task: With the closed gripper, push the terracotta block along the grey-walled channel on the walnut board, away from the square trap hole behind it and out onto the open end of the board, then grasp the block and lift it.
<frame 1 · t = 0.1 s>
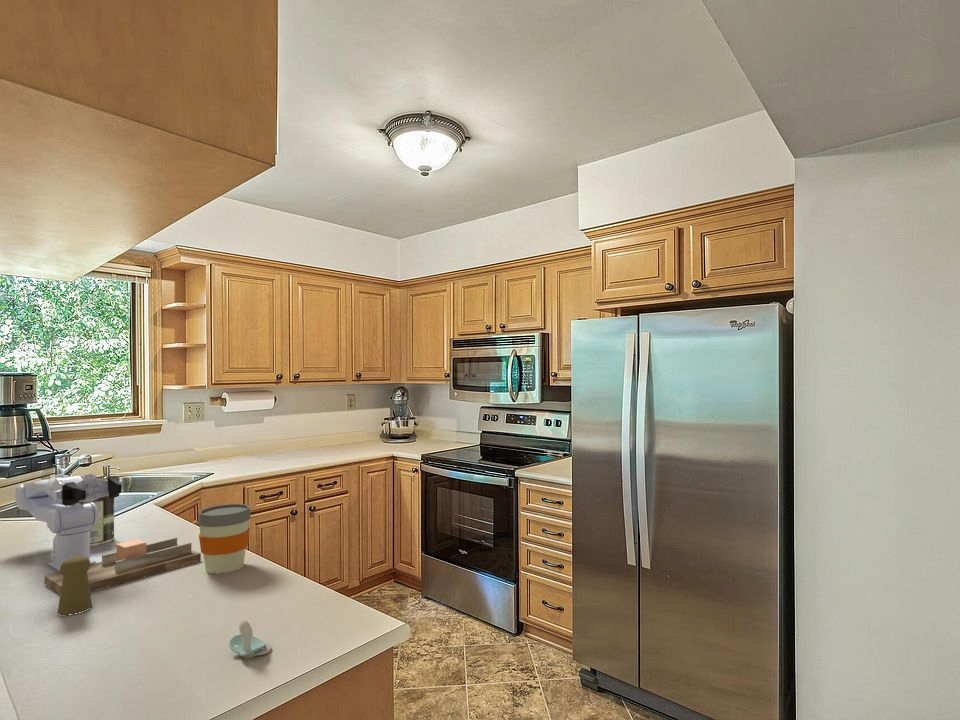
hand: (102, 491, 134), 22 cm above the countertop, tool horizontal, fingers open, 7 cm apart
cork: (75, 610, 116), on the countertop
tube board: (126, 571, 139), on the countertop
pacifier: (252, 653, 98), on the countertop
reusable coffee cup: (224, 568, 141), on the countertop
block: (131, 562, 140), point 2 cm above the countertop, touching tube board
coffee can: (94, 542, 165), on the countertop
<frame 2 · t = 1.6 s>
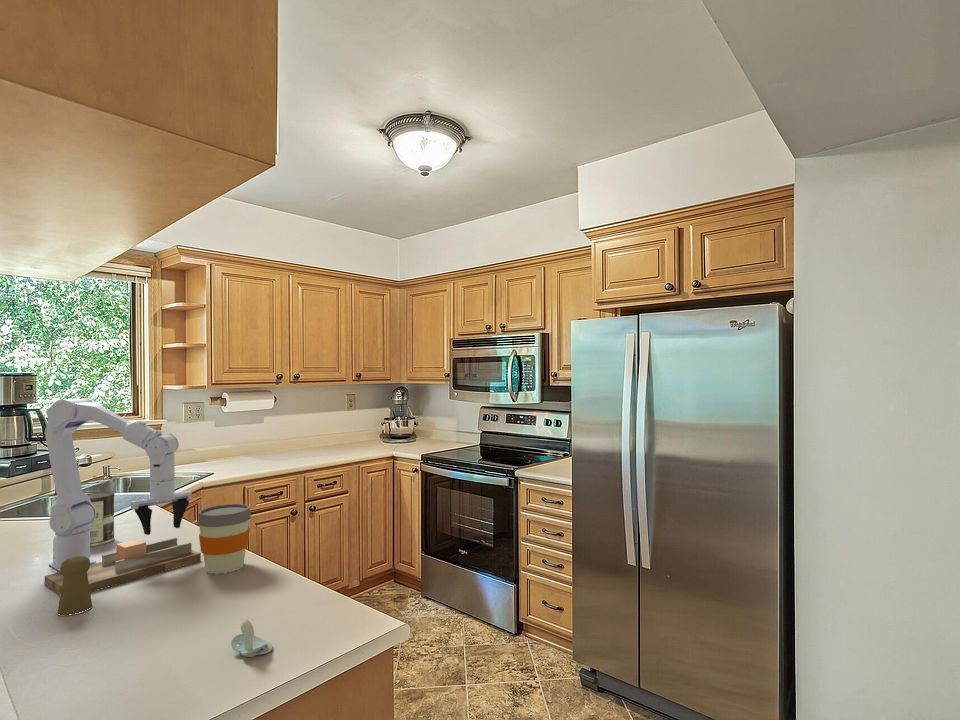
hand: (162, 530, 146), 8 cm above the countertop, tool pointing down, fingers open, 7 cm apart
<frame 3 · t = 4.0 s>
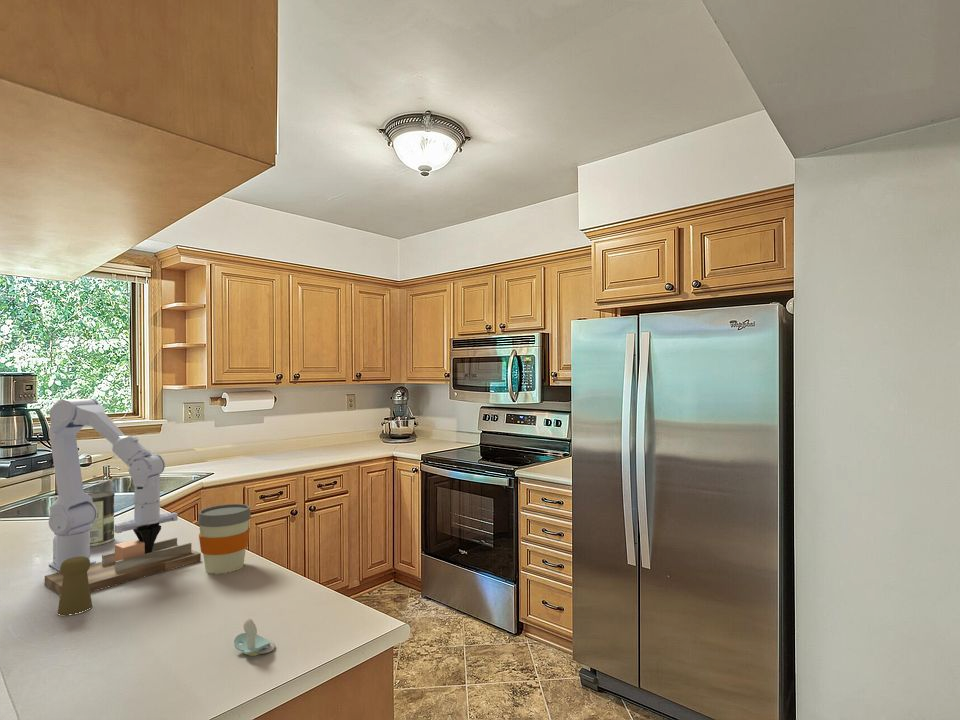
hand: (147, 554, 143), 3 cm above the countertop, tool pointing down, fingers closed
block: (129, 563, 139), point 2 cm above the countertop, touching gripper, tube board
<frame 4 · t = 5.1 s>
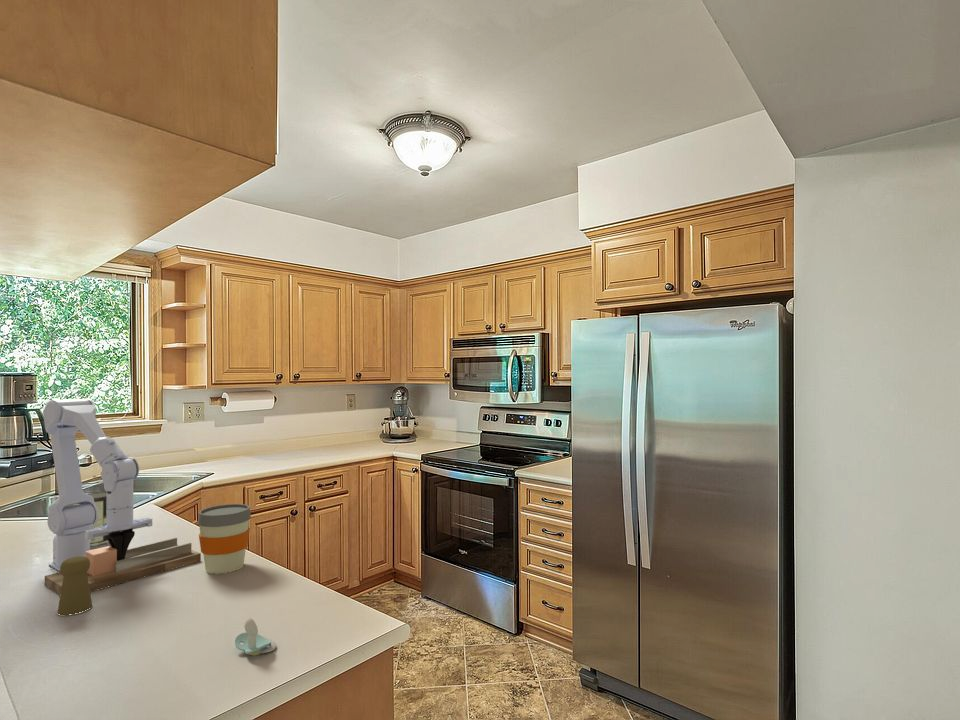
hand: (119, 561, 138), 3 cm above the countertop, tool pointing down, fingers closed
block: (101, 570, 134), point 2 cm above the countertop, touching gripper
everything else where it was.
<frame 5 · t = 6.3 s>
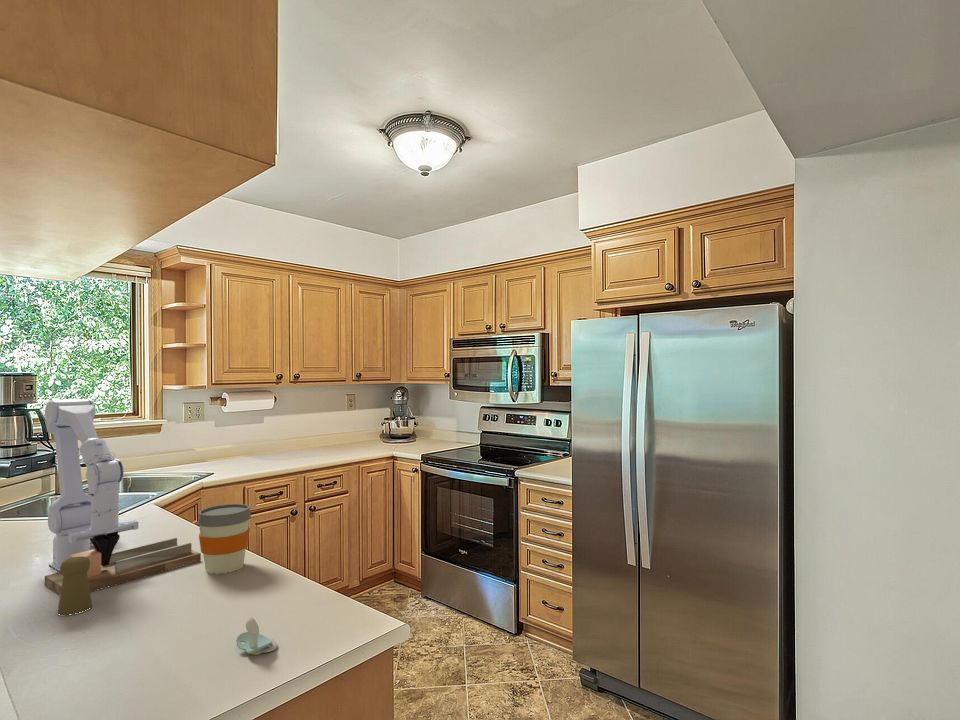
hand: (104, 564, 135), 3 cm above the countertop, tool pointing down, fingers closed
block: (85, 574, 132), point 2 cm above the countertop, touching gripper, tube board
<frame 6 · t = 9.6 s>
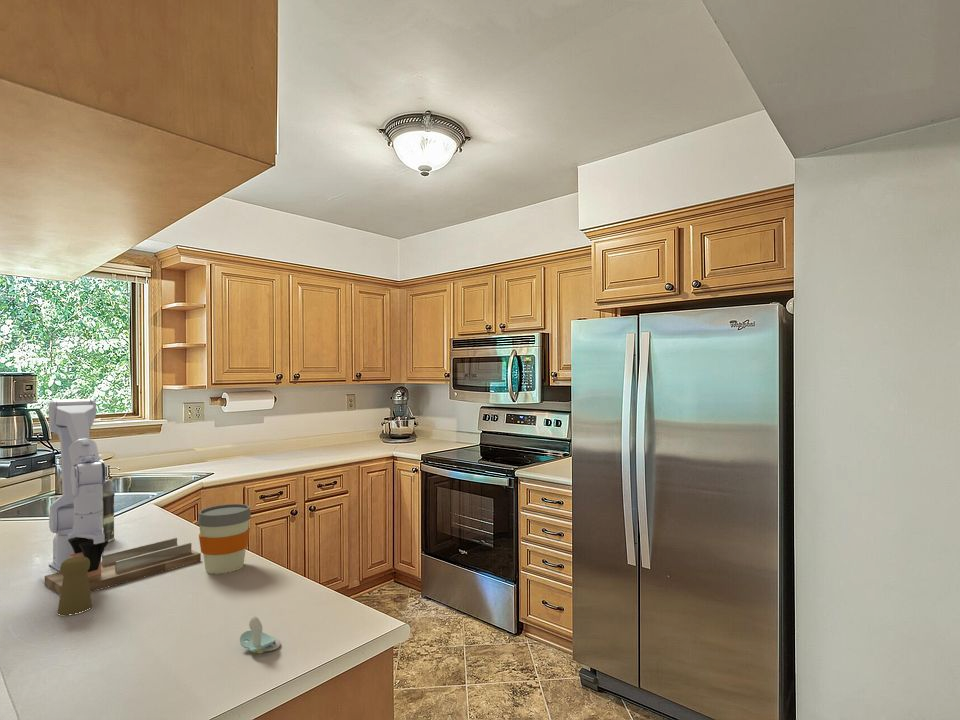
hand: (88, 568, 132), 3 cm above the countertop, tool pointing down, fingers closed on block, 5 cm apart
block: (85, 574, 132), point 2 cm above the countertop, touching gripper, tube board
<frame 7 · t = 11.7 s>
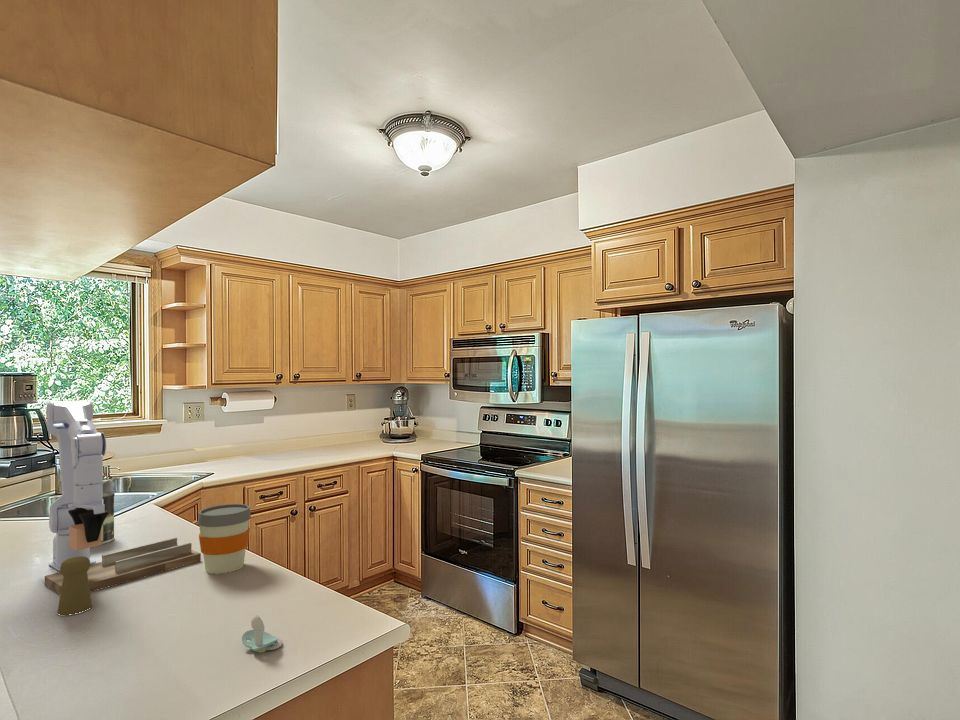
hand: (88, 539, 132), 10 cm above the countertop, tool pointing down, fingers closed on block, 5 cm apart
block: (85, 545, 132), point 9 cm above the countertop, touching gripper
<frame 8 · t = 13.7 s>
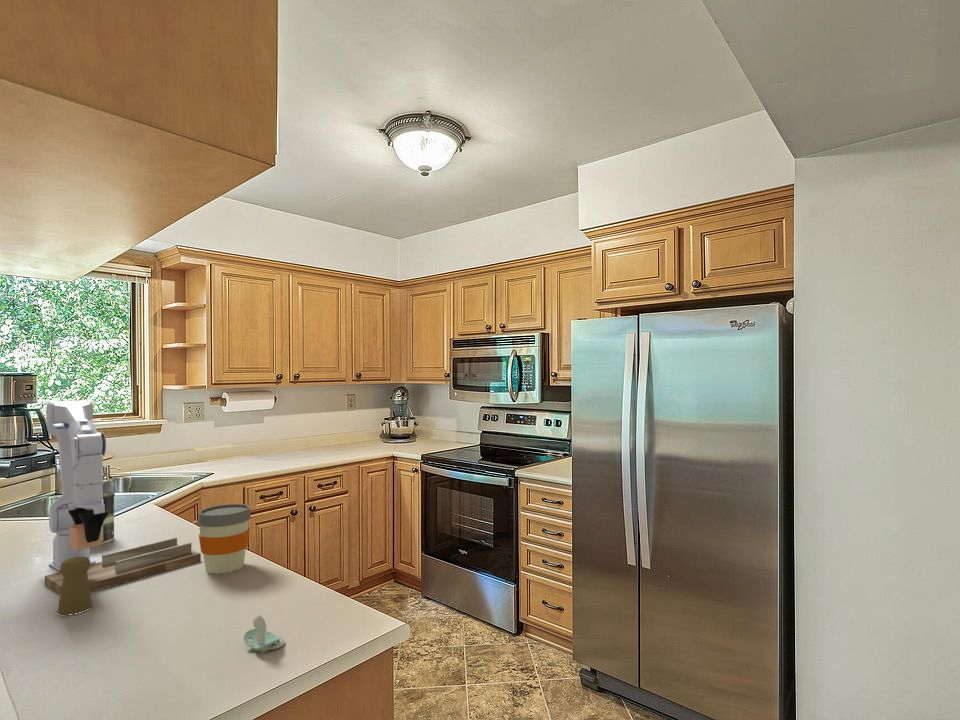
hand: (88, 539, 132), 10 cm above the countertop, tool pointing down, fingers closed on block, 5 cm apart
block: (85, 545, 132), point 9 cm above the countertop, touching gripper
at the end: block inside the target area on the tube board (1.1 cm from its centre), point 8.9 cm above the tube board's base; the gripper is holding block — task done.
